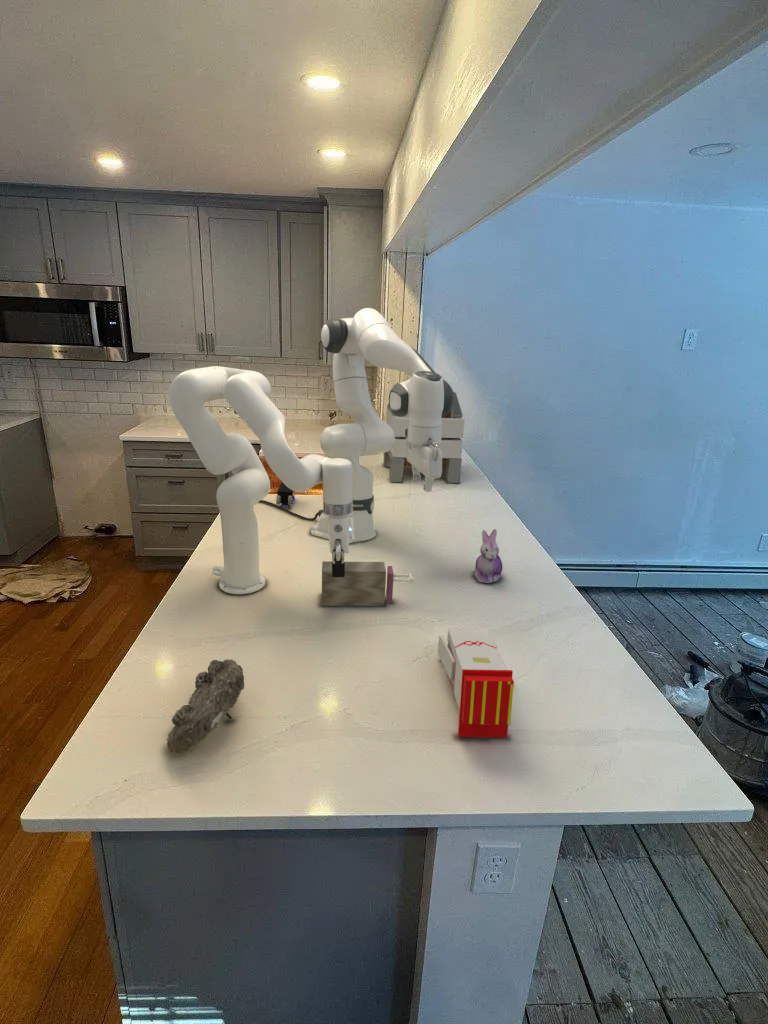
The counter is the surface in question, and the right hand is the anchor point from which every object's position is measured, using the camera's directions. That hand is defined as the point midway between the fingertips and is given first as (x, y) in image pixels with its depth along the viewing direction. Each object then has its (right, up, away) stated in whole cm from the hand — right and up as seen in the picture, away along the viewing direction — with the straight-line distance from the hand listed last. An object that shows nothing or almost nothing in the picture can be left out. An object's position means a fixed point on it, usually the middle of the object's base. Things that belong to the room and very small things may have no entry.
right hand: (421, 485), depth 153 cm
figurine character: (-49, -4, +71) cm, 86 cm away
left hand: (-22, -22, -4) cm, 32 cm away
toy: (+8, -45, -35) cm, 57 cm away
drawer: (-13, -30, 0) cm, 33 cm away
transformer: (+7, +12, +122) cm, 122 cm away
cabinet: (-19, -31, 0) cm, 36 cm away
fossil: (-43, -46, -45) cm, 78 cm away
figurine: (+21, -27, +17) cm, 38 cm away
